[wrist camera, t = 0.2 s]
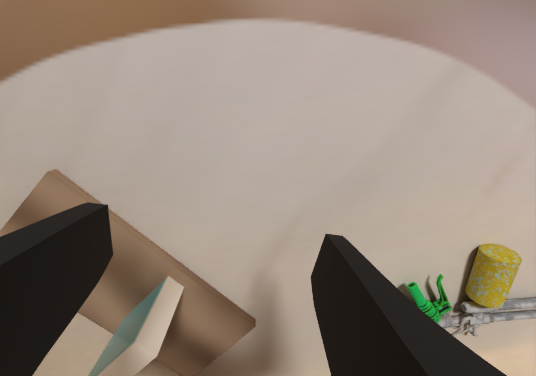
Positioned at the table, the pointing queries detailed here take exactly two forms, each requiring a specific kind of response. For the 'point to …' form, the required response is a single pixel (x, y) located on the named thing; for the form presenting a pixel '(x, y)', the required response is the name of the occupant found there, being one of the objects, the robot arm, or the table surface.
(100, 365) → the tile
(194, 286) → the board
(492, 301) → the flamethrower
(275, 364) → the table surface
